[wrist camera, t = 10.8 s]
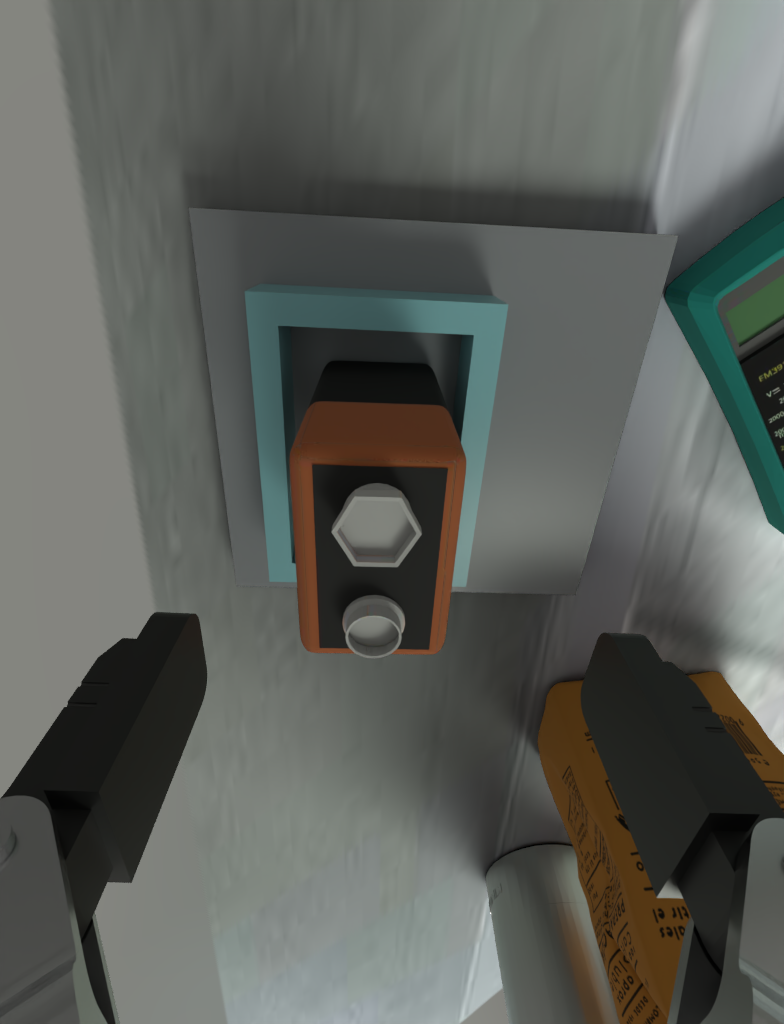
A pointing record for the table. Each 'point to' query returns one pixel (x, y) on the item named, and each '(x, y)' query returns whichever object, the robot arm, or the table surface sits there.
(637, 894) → the coffee package
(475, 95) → the table surface
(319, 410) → the battery
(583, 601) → the table surface
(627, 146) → the table surface
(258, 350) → the plate
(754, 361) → the digital multimeter
